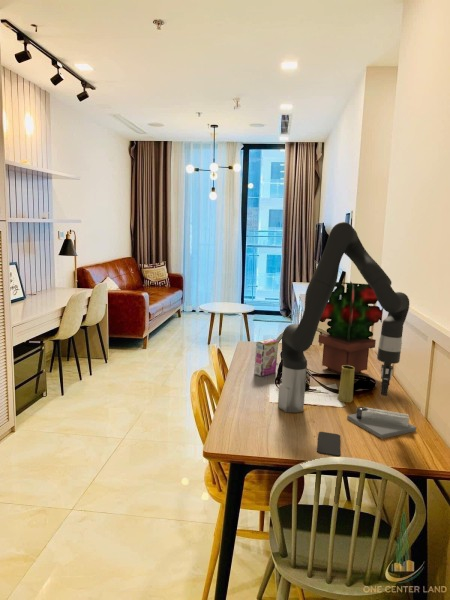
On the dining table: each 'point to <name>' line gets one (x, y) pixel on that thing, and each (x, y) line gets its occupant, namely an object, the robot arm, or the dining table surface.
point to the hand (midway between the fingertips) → (384, 391)
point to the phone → (328, 444)
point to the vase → (346, 384)
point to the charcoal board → (381, 427)
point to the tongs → (382, 416)
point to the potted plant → (349, 327)
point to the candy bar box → (266, 357)
